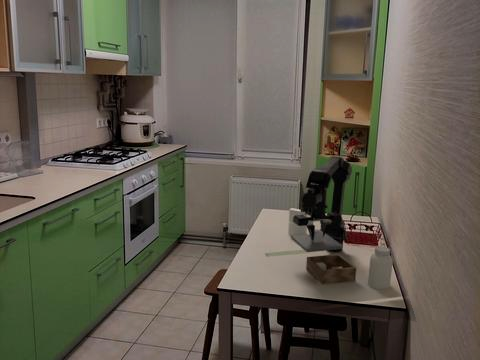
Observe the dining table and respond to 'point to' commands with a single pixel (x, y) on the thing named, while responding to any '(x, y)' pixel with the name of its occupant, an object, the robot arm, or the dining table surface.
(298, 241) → the lid
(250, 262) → the dining table surface
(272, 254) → the mat
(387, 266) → the pill bottle
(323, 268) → the cream cube
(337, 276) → the storage box
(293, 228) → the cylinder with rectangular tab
